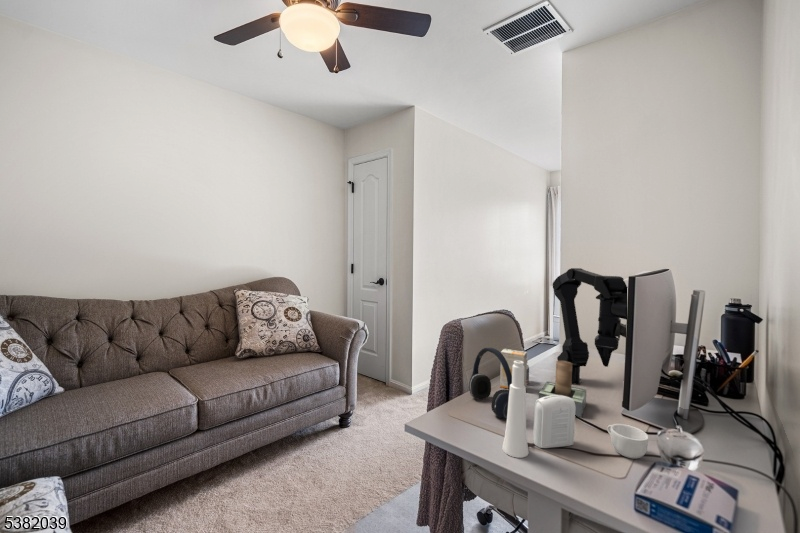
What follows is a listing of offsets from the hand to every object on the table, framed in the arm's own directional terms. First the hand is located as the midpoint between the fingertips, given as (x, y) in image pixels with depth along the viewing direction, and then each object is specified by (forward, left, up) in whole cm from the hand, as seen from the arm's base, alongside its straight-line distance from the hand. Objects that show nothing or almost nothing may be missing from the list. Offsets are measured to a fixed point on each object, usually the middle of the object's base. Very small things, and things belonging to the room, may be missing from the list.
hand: (606, 362), depth 115 cm
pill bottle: (-1, -27, -13) cm, 30 cm away
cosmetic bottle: (+46, -16, -13) cm, 50 cm away
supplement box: (+6, -28, -13) cm, 32 cm away
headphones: (+26, -29, -13) cm, 41 cm away
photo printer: (+37, -9, -13) cm, 40 cm away
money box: (+11, -11, -13) cm, 20 cm away
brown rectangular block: (+11, -11, -12) cm, 20 cm away
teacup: (+30, +6, -13) cm, 33 cm away
